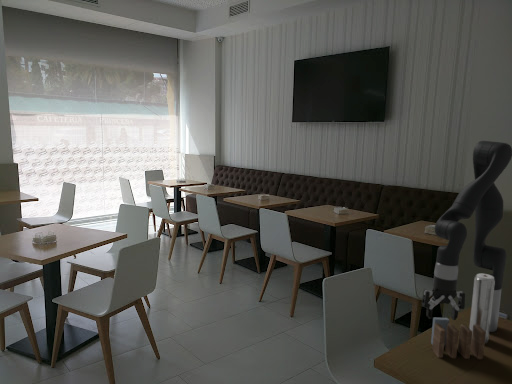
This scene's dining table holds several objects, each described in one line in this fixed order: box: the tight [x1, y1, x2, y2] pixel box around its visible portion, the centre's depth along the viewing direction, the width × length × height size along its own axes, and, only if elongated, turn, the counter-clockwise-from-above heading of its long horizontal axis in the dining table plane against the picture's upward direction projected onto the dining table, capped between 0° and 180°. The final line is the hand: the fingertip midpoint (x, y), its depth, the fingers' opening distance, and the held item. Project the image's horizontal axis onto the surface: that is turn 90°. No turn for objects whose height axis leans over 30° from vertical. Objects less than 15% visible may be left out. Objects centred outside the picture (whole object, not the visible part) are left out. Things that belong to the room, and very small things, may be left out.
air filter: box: [468, 273, 495, 344], centre depth 146 cm, size 6×6×25 cm
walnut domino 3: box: [457, 324, 472, 360], centre depth 136 cm, size 2×5×10 cm, turn 178°
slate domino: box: [430, 316, 450, 347], centre depth 143 cm, size 2×5×10 cm, turn 88°
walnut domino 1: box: [431, 323, 445, 359], centre depth 137 cm, size 2×5×10 cm, turn 178°
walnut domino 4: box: [470, 325, 486, 360], centre depth 136 cm, size 2×5×10 cm, turn 178°
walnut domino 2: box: [444, 323, 460, 359], centre depth 137 cm, size 2×5×10 cm, turn 178°
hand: (441, 318), depth 142 cm, fingers open, 8 cm apart
